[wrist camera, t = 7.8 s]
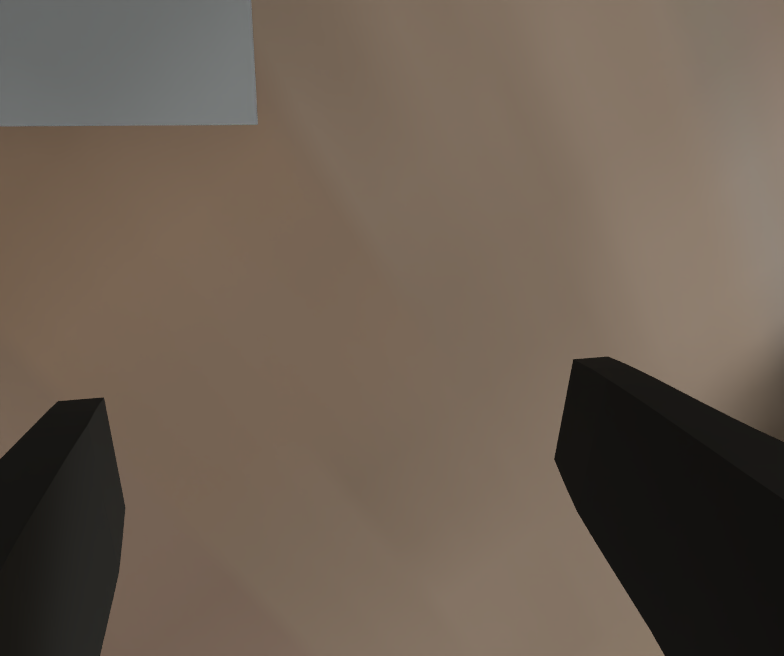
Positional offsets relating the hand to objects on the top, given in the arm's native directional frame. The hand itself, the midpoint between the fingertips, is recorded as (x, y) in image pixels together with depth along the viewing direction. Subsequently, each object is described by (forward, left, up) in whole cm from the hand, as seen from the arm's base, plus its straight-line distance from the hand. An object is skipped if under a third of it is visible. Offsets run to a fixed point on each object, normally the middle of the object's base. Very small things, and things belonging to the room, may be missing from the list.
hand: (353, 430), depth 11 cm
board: (-8, +10, -9) cm, 15 cm away
